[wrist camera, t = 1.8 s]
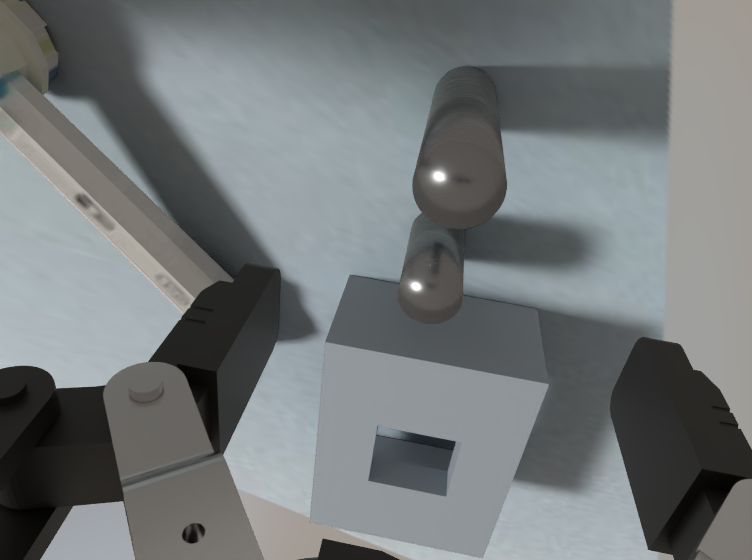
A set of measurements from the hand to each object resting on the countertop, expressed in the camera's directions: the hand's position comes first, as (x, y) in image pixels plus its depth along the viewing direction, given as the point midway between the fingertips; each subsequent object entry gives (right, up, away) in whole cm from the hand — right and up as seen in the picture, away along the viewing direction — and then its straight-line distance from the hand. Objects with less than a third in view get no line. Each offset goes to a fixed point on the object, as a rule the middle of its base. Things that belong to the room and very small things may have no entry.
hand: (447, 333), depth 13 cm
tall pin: (+3, +11, +17) cm, 20 cm away
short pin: (+2, +4, +21) cm, 22 cm away
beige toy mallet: (-16, +8, +23) cm, 29 cm away
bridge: (+2, -6, +27) cm, 28 cm away
